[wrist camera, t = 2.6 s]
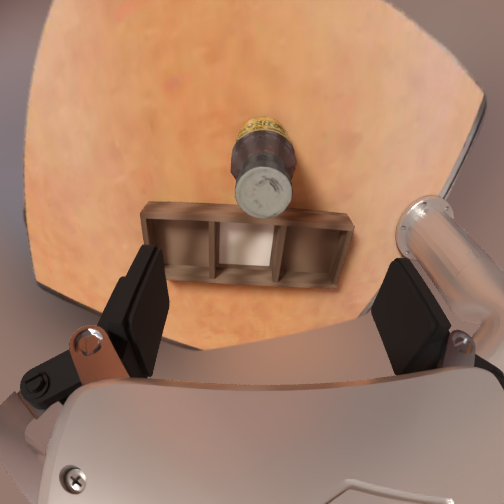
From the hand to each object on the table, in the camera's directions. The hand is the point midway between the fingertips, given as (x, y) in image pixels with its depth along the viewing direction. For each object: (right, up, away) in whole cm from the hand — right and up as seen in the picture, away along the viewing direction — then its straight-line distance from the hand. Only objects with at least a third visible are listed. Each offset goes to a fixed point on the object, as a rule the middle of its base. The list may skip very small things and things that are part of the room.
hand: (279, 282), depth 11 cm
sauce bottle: (0, +16, +25) cm, 30 cm away
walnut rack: (-2, +3, +33) cm, 33 cm away
